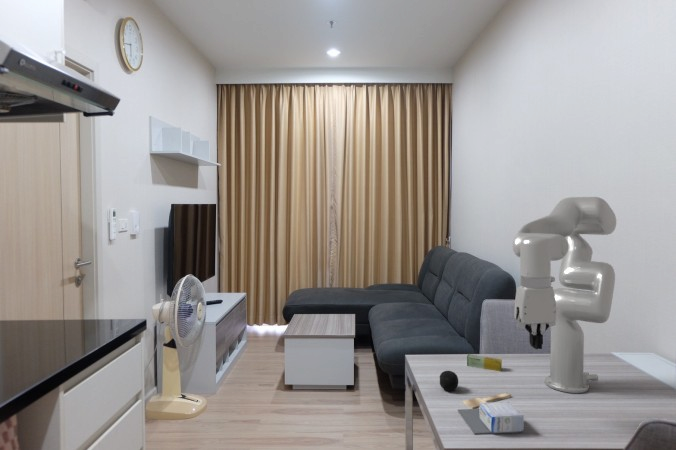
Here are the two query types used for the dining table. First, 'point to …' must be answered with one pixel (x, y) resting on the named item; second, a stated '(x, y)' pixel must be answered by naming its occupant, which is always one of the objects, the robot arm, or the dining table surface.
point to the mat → (476, 422)
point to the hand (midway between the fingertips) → (536, 347)
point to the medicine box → (501, 417)
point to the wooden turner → (485, 400)
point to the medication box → (484, 362)
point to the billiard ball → (448, 380)
